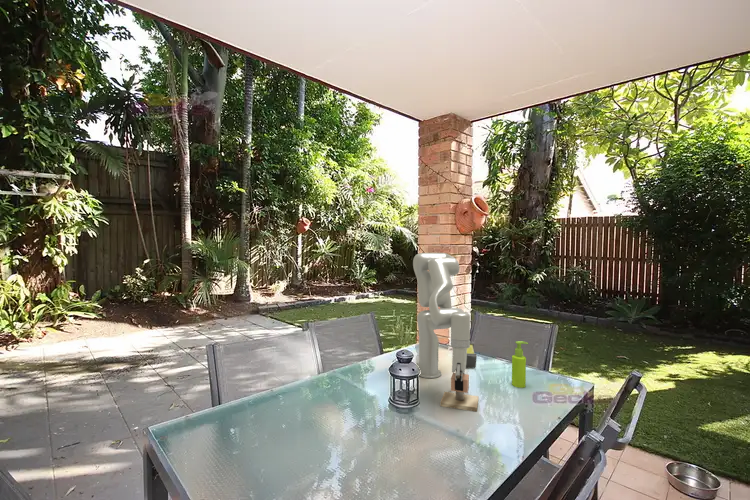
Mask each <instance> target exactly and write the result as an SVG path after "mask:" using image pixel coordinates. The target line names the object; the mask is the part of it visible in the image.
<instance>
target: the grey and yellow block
mask: <svg viewBox="0 0 750 500" xmlns="http://www.w3.org/2000/svg"><path fill="white" fill-rule="evenodd" d="M474 346H475V343H474V340H473V341H472V340H470V348H467V361H466V368H468V367H476V368H477V360H478V359H477V356H478V355H477V353H475V351H474V350H475V349H474Z"/></svg>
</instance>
